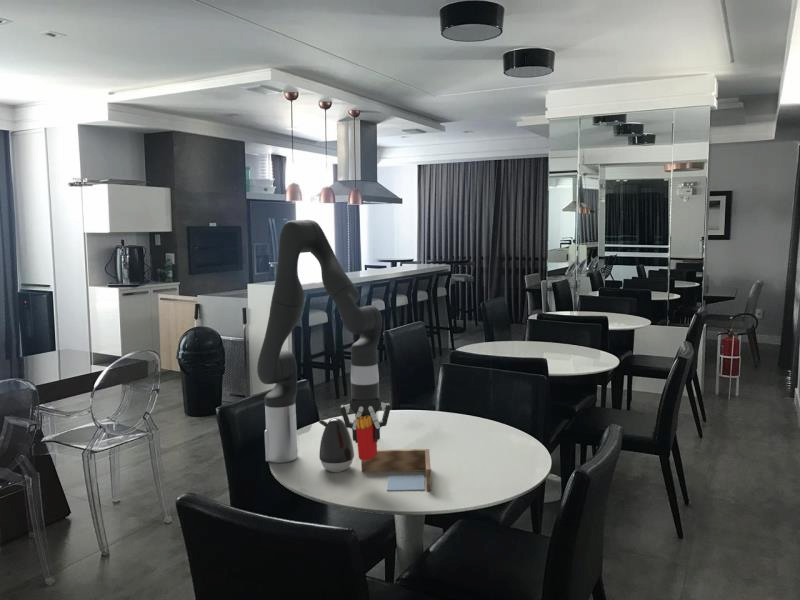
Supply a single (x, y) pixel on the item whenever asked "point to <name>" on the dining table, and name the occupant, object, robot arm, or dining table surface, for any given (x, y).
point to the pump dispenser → (336, 446)
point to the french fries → (366, 438)
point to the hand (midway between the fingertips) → (366, 441)
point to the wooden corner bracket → (400, 462)
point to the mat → (406, 483)
